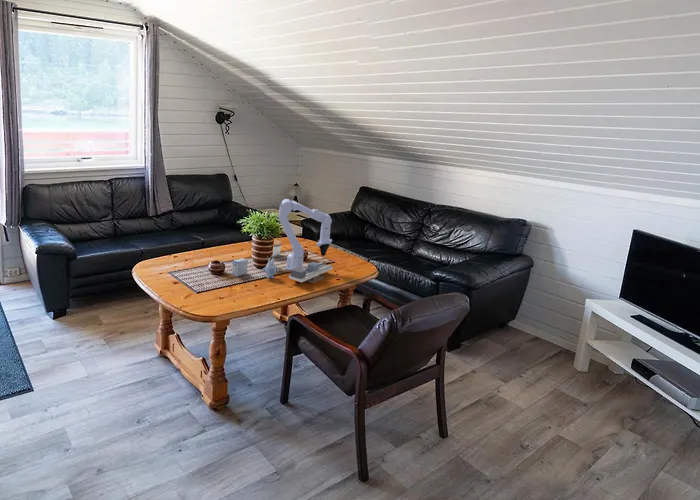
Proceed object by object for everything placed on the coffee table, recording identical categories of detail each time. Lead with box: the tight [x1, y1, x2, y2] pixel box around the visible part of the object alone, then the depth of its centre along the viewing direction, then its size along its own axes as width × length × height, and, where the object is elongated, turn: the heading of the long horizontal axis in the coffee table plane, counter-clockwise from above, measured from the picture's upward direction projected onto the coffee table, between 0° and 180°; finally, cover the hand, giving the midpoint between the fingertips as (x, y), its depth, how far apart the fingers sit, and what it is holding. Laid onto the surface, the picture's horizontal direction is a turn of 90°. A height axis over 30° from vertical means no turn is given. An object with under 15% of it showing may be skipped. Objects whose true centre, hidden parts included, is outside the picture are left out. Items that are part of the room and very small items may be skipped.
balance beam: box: [288, 261, 333, 284], centre depth 302 cm, size 11×32×8 cm, turn 150°
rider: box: [307, 261, 319, 272], centre depth 302 cm, size 4×5×4 cm
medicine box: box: [231, 257, 249, 277], centre depth 296 cm, size 8×4×9 cm, turn 146°
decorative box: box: [271, 239, 282, 258], centre depth 335 cm, size 13×13×11 cm
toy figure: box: [261, 257, 280, 279], centre depth 295 cm, size 11×6×12 cm, turn 116°
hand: (323, 255), depth 315 cm, fingers closed
